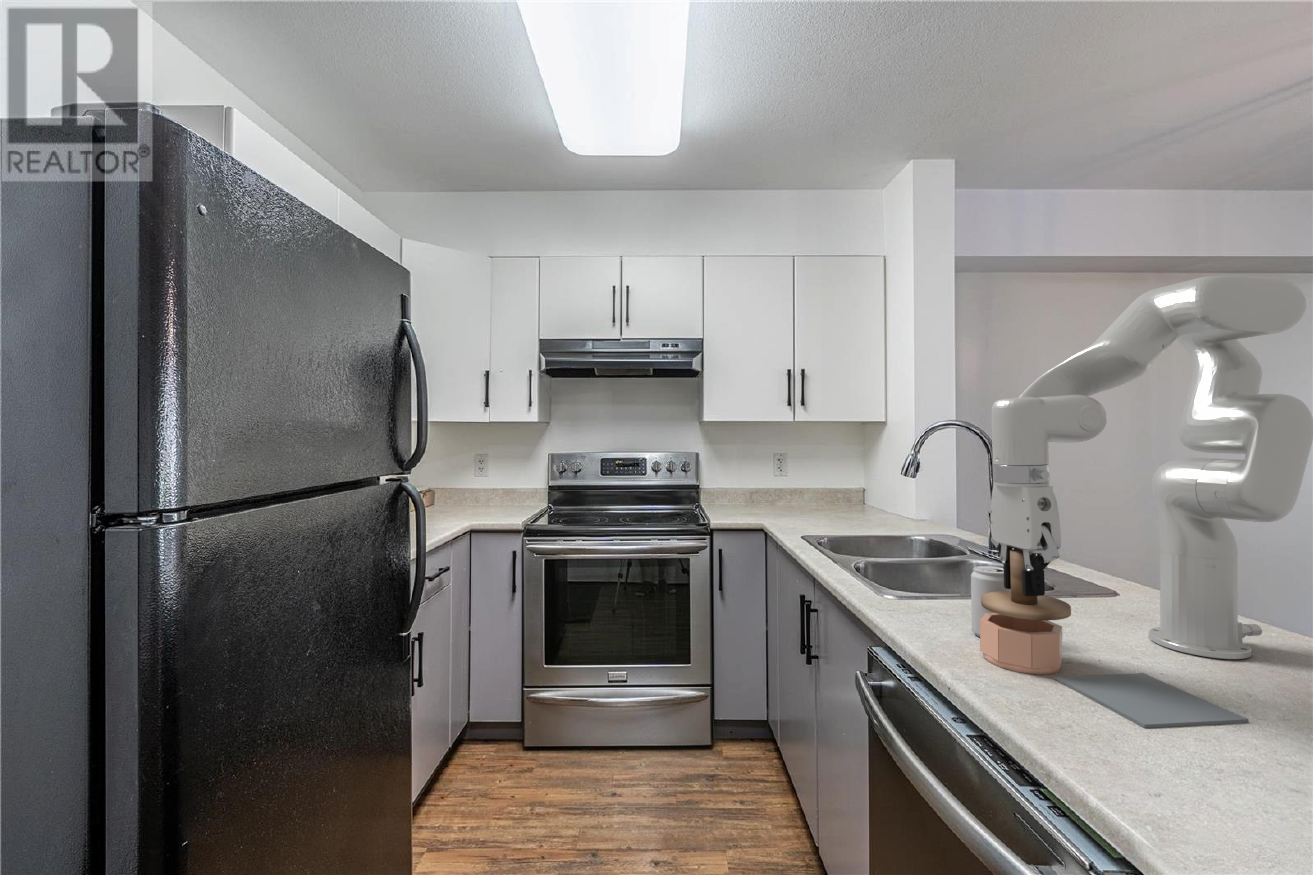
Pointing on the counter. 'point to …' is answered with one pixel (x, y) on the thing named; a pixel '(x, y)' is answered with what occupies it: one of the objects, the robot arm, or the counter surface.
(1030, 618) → the lid
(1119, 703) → the mat
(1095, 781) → the counter surface
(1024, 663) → the bowl
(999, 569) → the beverage can
